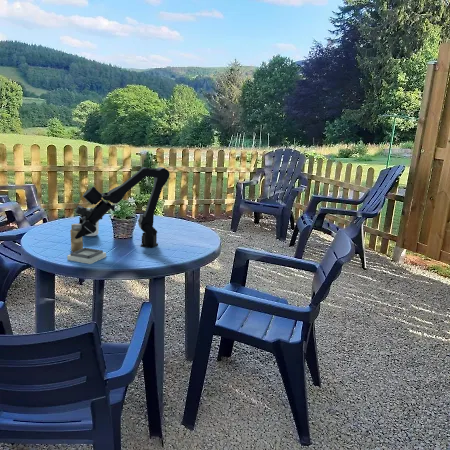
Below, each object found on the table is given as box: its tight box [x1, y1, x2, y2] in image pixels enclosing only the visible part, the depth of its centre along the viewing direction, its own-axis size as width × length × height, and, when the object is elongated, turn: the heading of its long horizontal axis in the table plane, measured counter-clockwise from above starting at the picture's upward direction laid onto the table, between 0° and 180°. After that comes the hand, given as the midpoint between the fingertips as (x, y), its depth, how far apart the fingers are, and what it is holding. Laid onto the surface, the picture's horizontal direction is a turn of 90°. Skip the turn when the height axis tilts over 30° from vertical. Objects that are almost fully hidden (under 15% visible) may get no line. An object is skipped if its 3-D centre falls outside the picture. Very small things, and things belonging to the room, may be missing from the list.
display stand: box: [66, 247, 107, 265], centre depth 186 cm, size 12×11×3 cm
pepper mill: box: [69, 223, 84, 253], centre depth 195 cm, size 5×5×12 cm
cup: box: [86, 207, 100, 237], centre depth 219 cm, size 8×8×14 cm
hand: (74, 235), depth 195 cm, fingers open, 9 cm apart
